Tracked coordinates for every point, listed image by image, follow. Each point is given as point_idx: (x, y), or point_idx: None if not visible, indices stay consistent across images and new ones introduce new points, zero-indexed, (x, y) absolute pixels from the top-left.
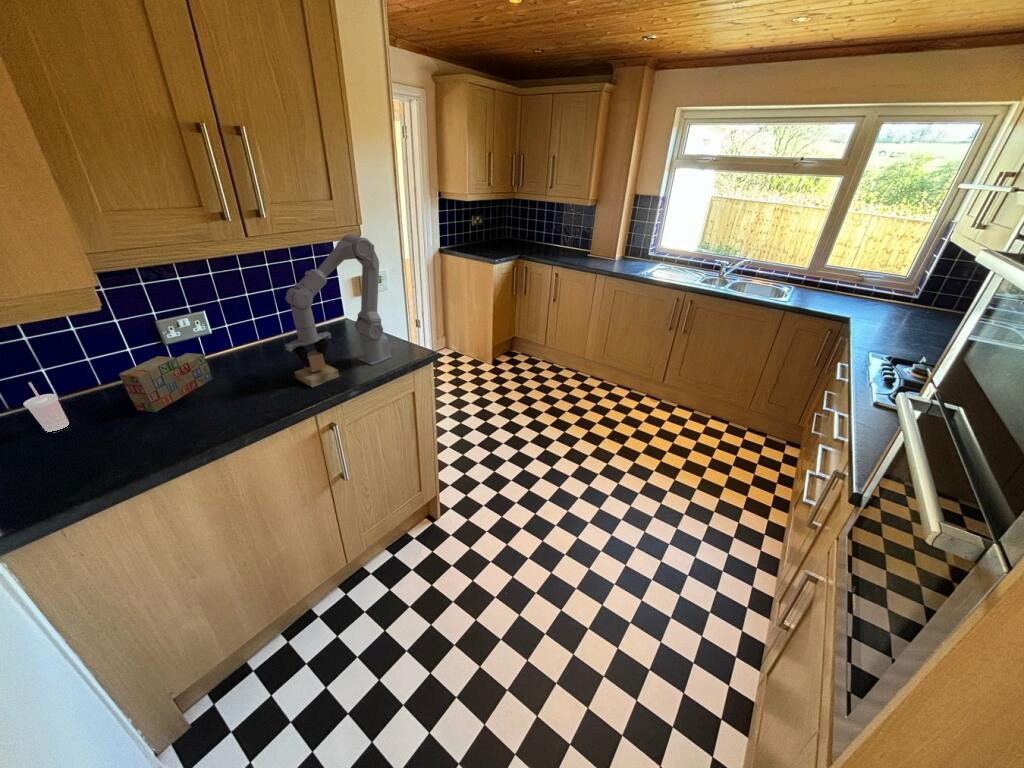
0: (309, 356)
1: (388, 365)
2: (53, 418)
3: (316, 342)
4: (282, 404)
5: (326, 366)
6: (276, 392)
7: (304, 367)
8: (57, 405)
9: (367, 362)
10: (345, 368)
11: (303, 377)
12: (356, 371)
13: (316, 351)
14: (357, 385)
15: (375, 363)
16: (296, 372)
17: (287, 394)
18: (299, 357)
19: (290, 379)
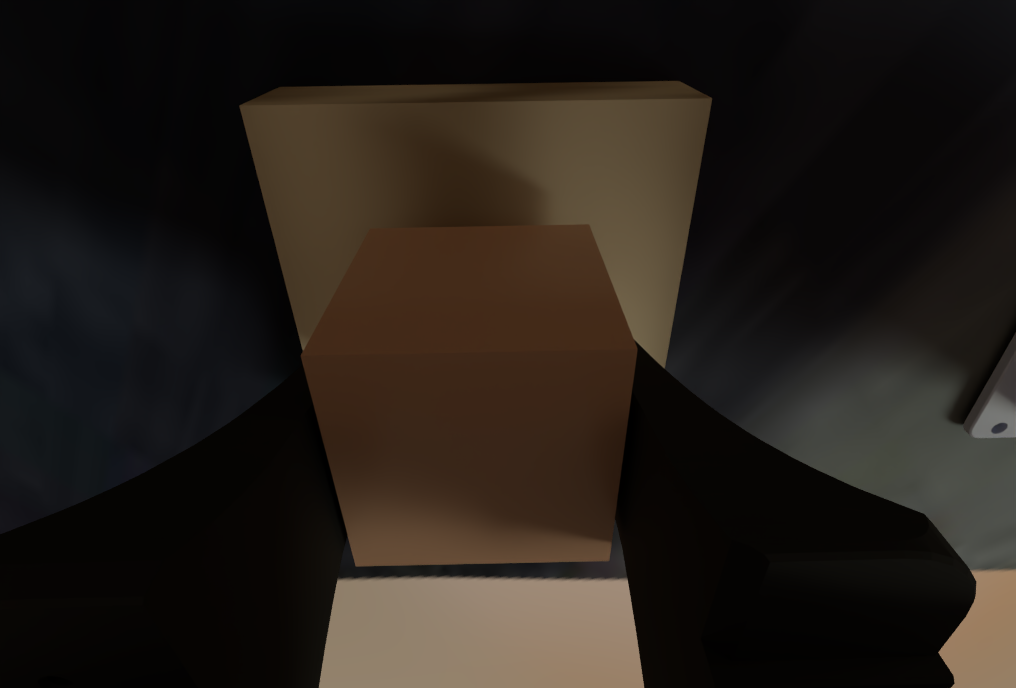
0: (400, 514)
1: (1001, 505)
2: None
3: (695, 680)
4: (61, 465)
5: (640, 293)
6: (13, 250)
7: (366, 241)
8: None
9: (999, 382)
10: (803, 296)
11: (301, 331)
12: (790, 419)
13: (621, 419)
14: (605, 574)
15: (1004, 432)
16: (265, 148)
17: (119, 361)
18: (239, 420)
19: (211, 47)
